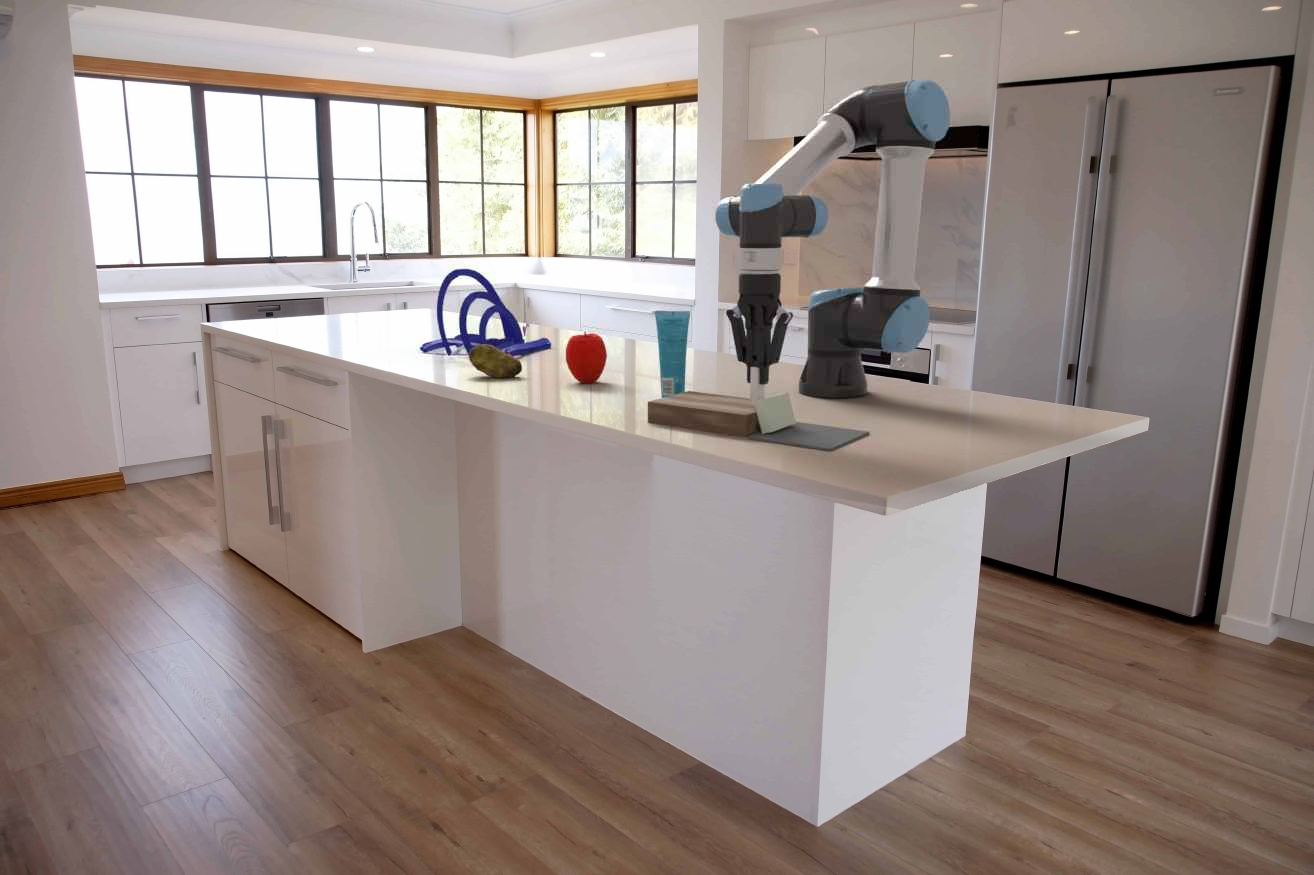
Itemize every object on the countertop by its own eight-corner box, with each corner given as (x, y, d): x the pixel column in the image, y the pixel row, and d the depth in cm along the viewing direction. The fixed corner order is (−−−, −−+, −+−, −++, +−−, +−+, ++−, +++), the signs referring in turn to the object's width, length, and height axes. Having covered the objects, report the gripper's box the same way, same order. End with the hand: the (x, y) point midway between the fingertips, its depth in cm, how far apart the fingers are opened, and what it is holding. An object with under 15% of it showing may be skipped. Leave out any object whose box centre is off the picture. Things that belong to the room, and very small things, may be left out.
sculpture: (507, 360, 261) (497, 264, 257) (403, 365, 275) (391, 274, 270) (566, 347, 293) (558, 261, 289) (470, 352, 306) (460, 270, 302)
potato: (504, 381, 231) (502, 348, 229) (464, 377, 238) (462, 344, 236) (526, 376, 238) (525, 344, 236) (487, 372, 245) (485, 341, 243)
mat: (791, 423, 184) (791, 421, 183) (869, 433, 174) (869, 431, 174) (747, 438, 171) (747, 436, 171) (829, 451, 162) (829, 448, 162)
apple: (584, 377, 236) (583, 327, 234) (616, 381, 231) (615, 330, 228) (557, 383, 228) (556, 331, 226) (589, 387, 223) (588, 334, 220)
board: (688, 410, 196) (688, 390, 195) (784, 423, 183) (784, 402, 182) (647, 422, 185) (647, 401, 184) (746, 436, 172) (746, 415, 171)
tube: (689, 398, 209) (689, 309, 205) (690, 402, 204) (690, 311, 200) (655, 398, 209) (655, 309, 205) (655, 402, 204) (654, 311, 200)
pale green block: (779, 394, 180) (788, 392, 178) (787, 425, 180) (796, 423, 179) (754, 401, 173) (763, 399, 171) (762, 434, 173) (771, 432, 172)
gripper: (717, 271, 173) (716, 400, 179) (781, 274, 166) (778, 408, 171) (739, 269, 179) (738, 394, 184) (802, 272, 172) (798, 402, 177)
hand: (757, 401), depth 178 cm, fingers closed
